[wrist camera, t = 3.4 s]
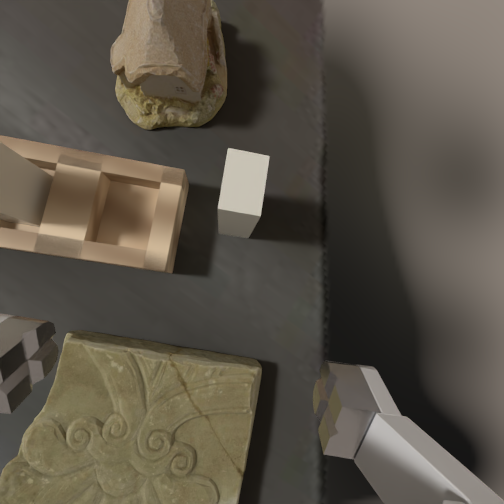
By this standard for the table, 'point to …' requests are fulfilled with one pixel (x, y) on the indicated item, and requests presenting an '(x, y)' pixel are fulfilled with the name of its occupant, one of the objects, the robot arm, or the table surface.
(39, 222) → the white upright prism
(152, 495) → the decorative tile
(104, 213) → the rack
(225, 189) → the white rectangular block
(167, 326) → the table surface
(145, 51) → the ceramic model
